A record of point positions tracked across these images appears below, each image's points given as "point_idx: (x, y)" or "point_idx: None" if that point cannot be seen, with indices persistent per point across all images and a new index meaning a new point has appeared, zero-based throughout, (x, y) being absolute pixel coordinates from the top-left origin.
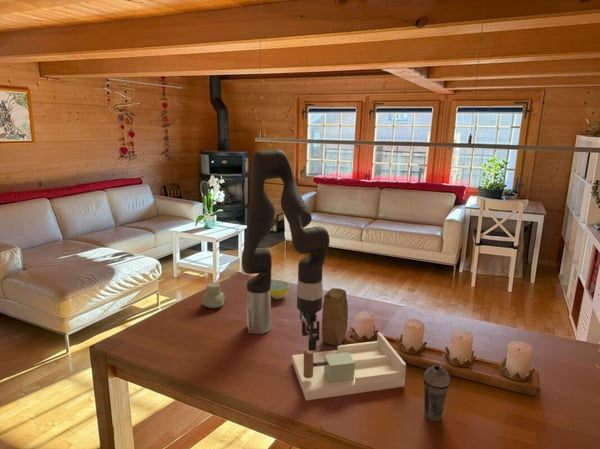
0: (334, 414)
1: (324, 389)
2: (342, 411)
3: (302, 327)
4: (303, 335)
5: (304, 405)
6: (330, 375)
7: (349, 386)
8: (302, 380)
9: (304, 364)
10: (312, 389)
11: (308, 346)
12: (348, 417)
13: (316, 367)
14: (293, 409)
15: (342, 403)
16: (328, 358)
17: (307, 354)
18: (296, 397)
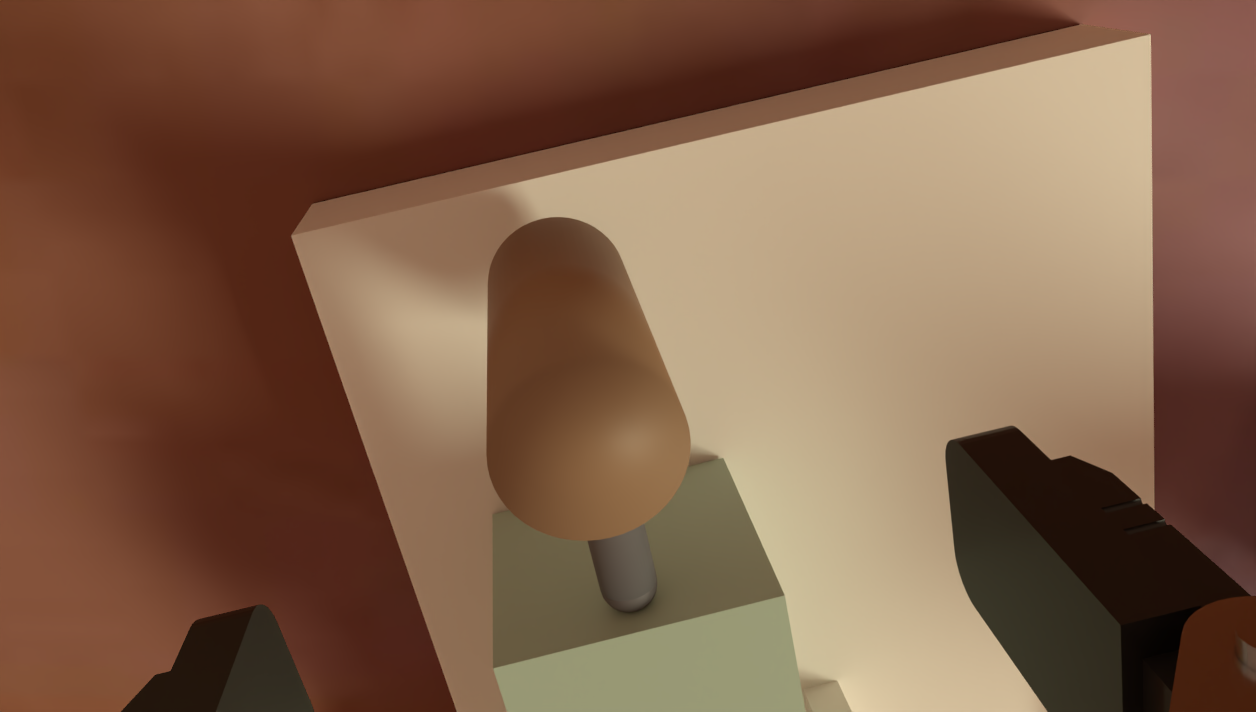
0: (116, 500)
1: (370, 455)
2: (178, 573)
3: (1074, 577)
4: (952, 459)
5: (219, 186)
6: (497, 580)
7: (455, 701)
8: (537, 187)
9: (524, 295)
10: (350, 317)
11: (230, 655)
12: (95, 622)
13: (819, 367)
14: (122, 49)
15: (306, 576)
16: (687, 648)
17: (513, 432)
18: (361, 86)
